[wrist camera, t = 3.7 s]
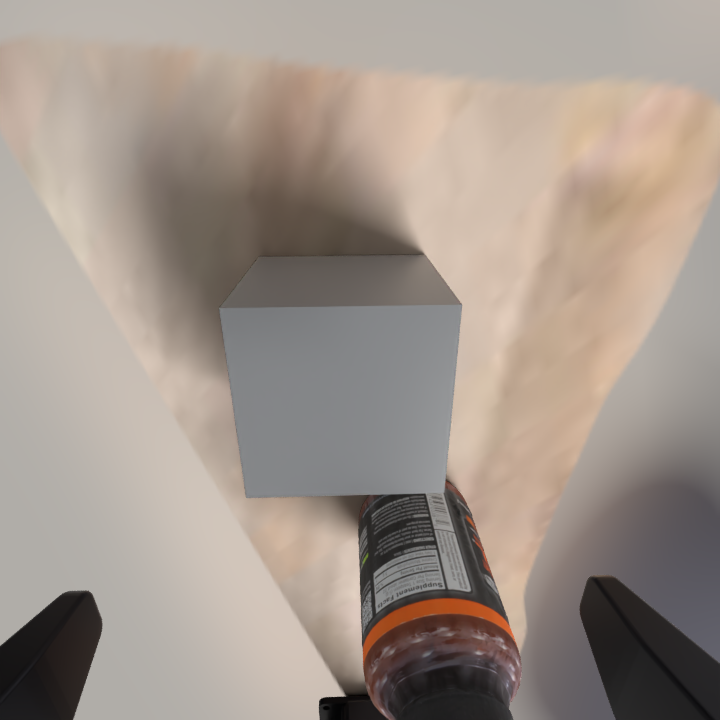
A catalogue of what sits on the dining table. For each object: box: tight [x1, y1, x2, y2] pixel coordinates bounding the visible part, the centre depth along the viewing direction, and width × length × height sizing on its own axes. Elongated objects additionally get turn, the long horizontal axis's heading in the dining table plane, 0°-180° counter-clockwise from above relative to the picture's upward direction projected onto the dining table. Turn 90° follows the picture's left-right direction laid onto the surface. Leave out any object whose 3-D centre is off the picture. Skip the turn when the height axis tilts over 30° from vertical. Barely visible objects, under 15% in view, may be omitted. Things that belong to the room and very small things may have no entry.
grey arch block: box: [219, 255, 462, 498], centre depth 17 cm, size 7×7×6 cm
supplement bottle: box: [358, 481, 522, 720], centre depth 20 cm, size 6×6×11 cm
